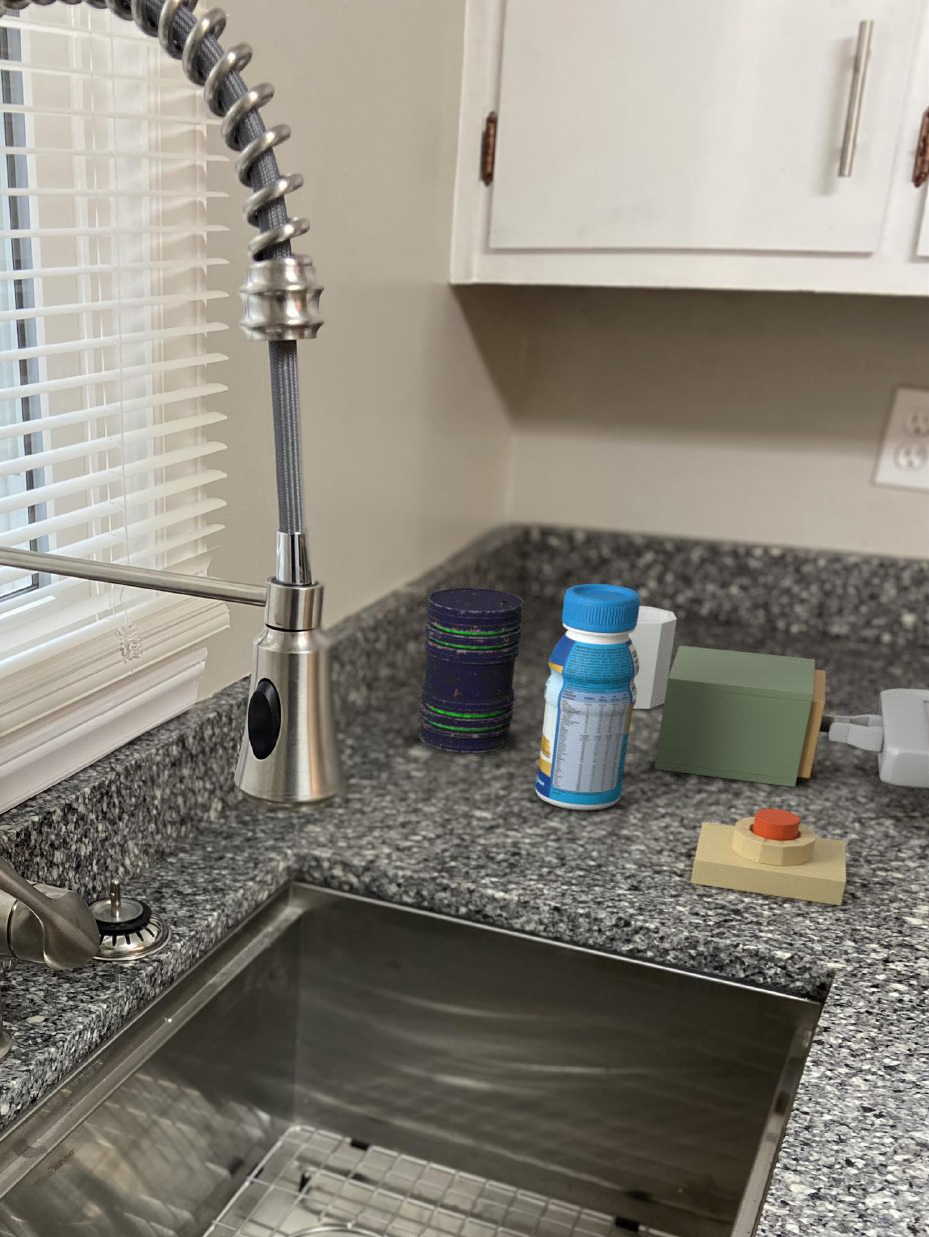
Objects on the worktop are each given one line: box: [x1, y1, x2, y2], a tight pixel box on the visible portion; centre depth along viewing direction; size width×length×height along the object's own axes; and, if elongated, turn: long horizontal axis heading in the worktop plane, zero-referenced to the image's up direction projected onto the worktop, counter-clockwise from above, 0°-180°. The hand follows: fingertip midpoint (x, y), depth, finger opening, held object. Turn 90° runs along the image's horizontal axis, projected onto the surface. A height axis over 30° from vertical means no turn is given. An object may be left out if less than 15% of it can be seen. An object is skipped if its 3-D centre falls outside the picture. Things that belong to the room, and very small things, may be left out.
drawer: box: [797, 669, 832, 779], centre depth 148 cm, size 14×11×8 cm
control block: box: [690, 816, 847, 906], centre depth 124 cm, size 12×9×4 cm
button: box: [752, 808, 801, 841], centre depth 123 cm, size 4×4×2 cm
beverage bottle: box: [534, 583, 641, 811], centre depth 136 cm, size 8×8×20 cm
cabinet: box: [653, 645, 816, 788], centre depth 149 cm, size 14×13×10 cm
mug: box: [628, 605, 678, 710], centre depth 167 cm, size 12×9×10 cm
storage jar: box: [418, 587, 524, 754], centre depth 153 cm, size 10×10×15 cm
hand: (829, 727), depth 143 cm, fingers closed
